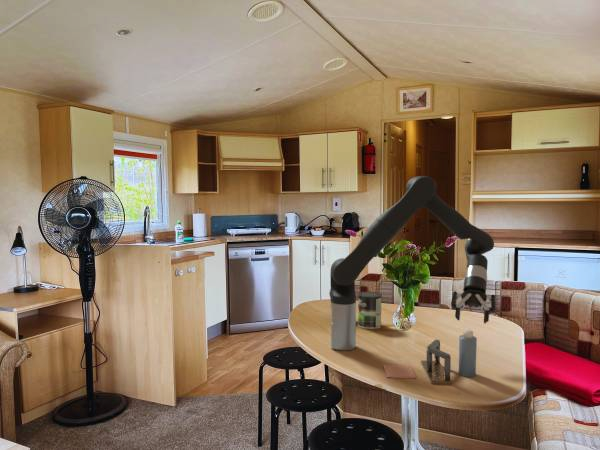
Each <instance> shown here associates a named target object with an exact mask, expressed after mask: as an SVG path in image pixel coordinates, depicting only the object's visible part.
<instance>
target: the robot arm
mask: <svg viewBox="0 0 600 450" xmlns="http://www.w3.org/2000/svg"><path fill="white" fill-rule="evenodd" d="M405 190H406V192H405V193H404V195H402V197H401V198H400V199H399V200H398V201H397V202H396V203H395V204H393V205H391V207H389V208H387V209H386V210H385V211H383V212H382V213H381V214H380V215H379V216H378V217H377V218H376V219H375V220H374V221H373V222H372V223H371V224H370V225H369V226H368V227H367V229H366V230H365V232H364V233H363V235H362V236H361V238H360V240H359V242H358V244H357V245H356V246H355V248H354V249H352V250H351V252H350V253H349V254H348V255H347V256H346V257H344V258H342V257H341V258H338V259H336V260H334V262H333V263H332V264H331V267H330V273H329V274H330V275H329V276H330V289H331V299H330V307H331V308H330V309H331V310H330V311H331V313H330V314H331V319H330V322H331V324H330V329H331V331H330V332H331V334H330V337H331V339H330V341H331V343H330V348H331V350H332V349H333V350H338V351H351V350H354V349H356V346H357V345H356V344H357V340H356V339H357V338H356V337H357V335H356V334H357V328H356V327H357V295H356V287H355V284H356V283H355V282H356V280H357V278H358V277H359V276H360V275H361V273H362V272H363V270H364V269H365V268H366V267H367V265H368V264H369V263H371V262H372V261H371V260H373V259H374V258H375V257H376V256H377V255H378V254H379V253H380V252H381V251H382V250H383V249H384V248H385V247H386V246H387V245H388V244H389V243H390V242H391V241H392V239H393V238H395V236H397V234H399V232H400V231H401V229H402V228H403V227H404V226H405V225H406V224H407V222H408V221H409V220H410V219H411V218H412V217H413V216H414V215H415V213H416V212H418V211H419V210H420V209H421V208H422V207H424V208H425V209H426V210H428V211H429V212H430V213H431V214H433V215H434V216H435V217H436V218H437V219H438V220H439V221H440V222H441V223H442V224H443V225H444V226H445V227H446V228H447V229H448V230H449V231H450V232H451V233H452V234H453V235H454V236H455V237H456V238H457V239H459V240H466V239H467V241H466V243H465V244H464V251H465V256H466V261H467V262H466V269H465V273H464V281H463V289H462V292H460V293H459V292H457V291H453V292H452V296H451V302H450V307H451V309H452V310H455V314H454V316H455V319H456V320H457V321H461V320H460V318H461V310H462V309H465V308H466V307H467V306H468V307H470V308H471V307H472V308H473V307H475V308H478V307H480V309H481V310H482V311H483V313H484V314H483V324H487V323H488V322H489V321H490V319H489V318H490V314H495V313H496V294H491V295H487V286H488V285H487V284H488V264H489V263H488V262H489V261H488V259H487V257H486V256H485V255H484V254H486V253H488V252H490V251H491V250H493V249H494V246H495V242H494V240H493V236H491V235H490V234H489V233H487V232H486V231H484V230H482V229H481V228H479V227H477V226H475V225H473V224H472V223H471V222H470V221H469V220H468V219H467V218H465V216H463V215H462V214H461V213H460V212H459V211H457V210H456V209H455V208H454V207H452V206H451V205H449V204H448V203H447V202H445V201H444V200H443V199H441V198H440V196H439V195H438V194H437V193H436V191H437V183H436V181H435V179H433V178H432V177H430V176H427V175H419V176H417V175H416V176H414V177H412V178H410V179H409V180H408V181H407V183H406V189H405ZM460 298H461V300H459V299H460ZM457 300H459V301H460V302H458V303H457ZM486 301H488V302H489V303H490V305H491V306H490V307H489V306H488V305H487V304H486Z"/></svg>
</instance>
